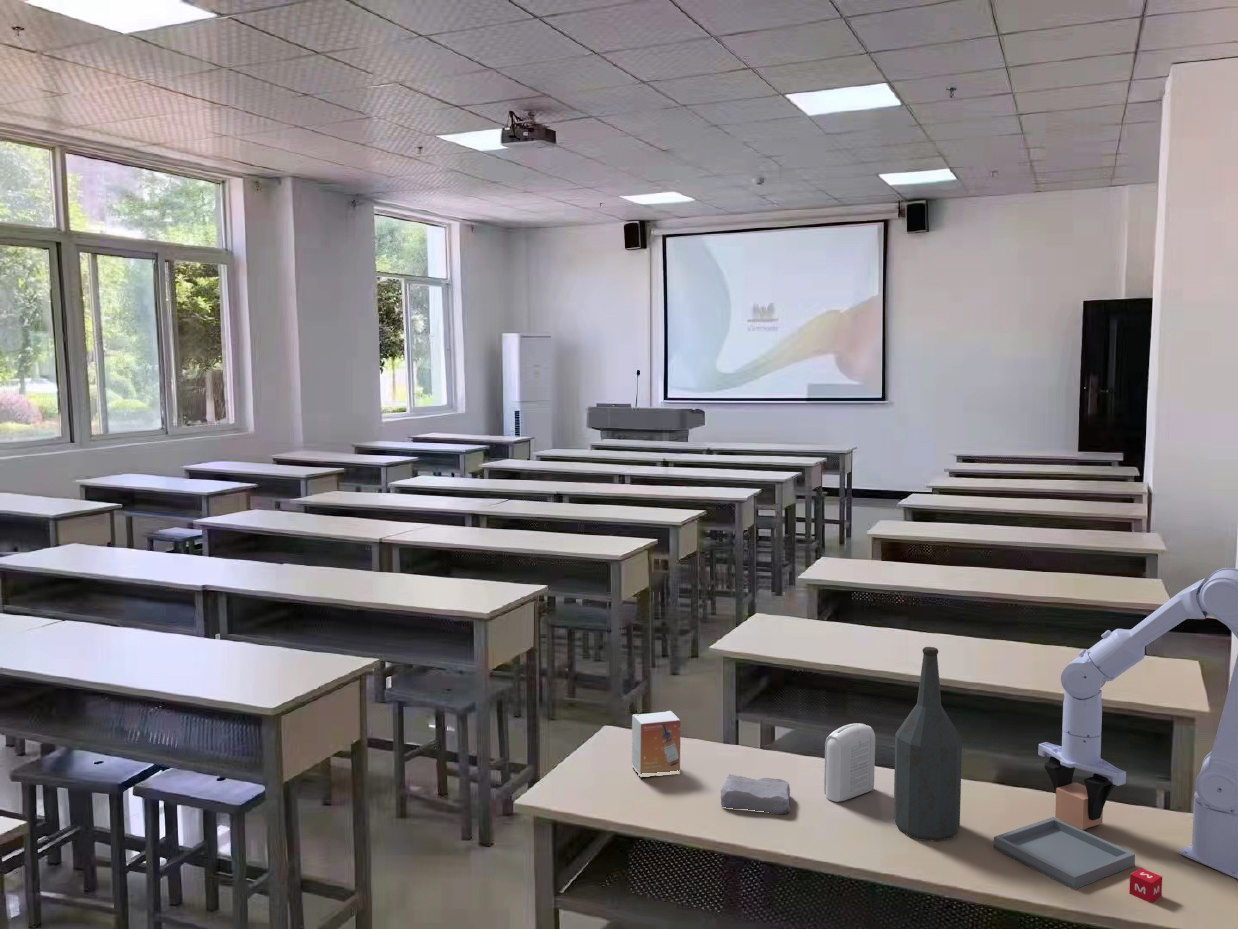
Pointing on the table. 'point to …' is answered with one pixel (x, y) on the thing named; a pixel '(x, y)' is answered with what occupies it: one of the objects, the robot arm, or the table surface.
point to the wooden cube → (1074, 806)
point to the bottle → (928, 763)
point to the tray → (1064, 852)
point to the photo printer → (849, 762)
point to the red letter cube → (1145, 885)
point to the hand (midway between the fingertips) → (1078, 811)
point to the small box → (656, 742)
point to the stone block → (756, 794)
